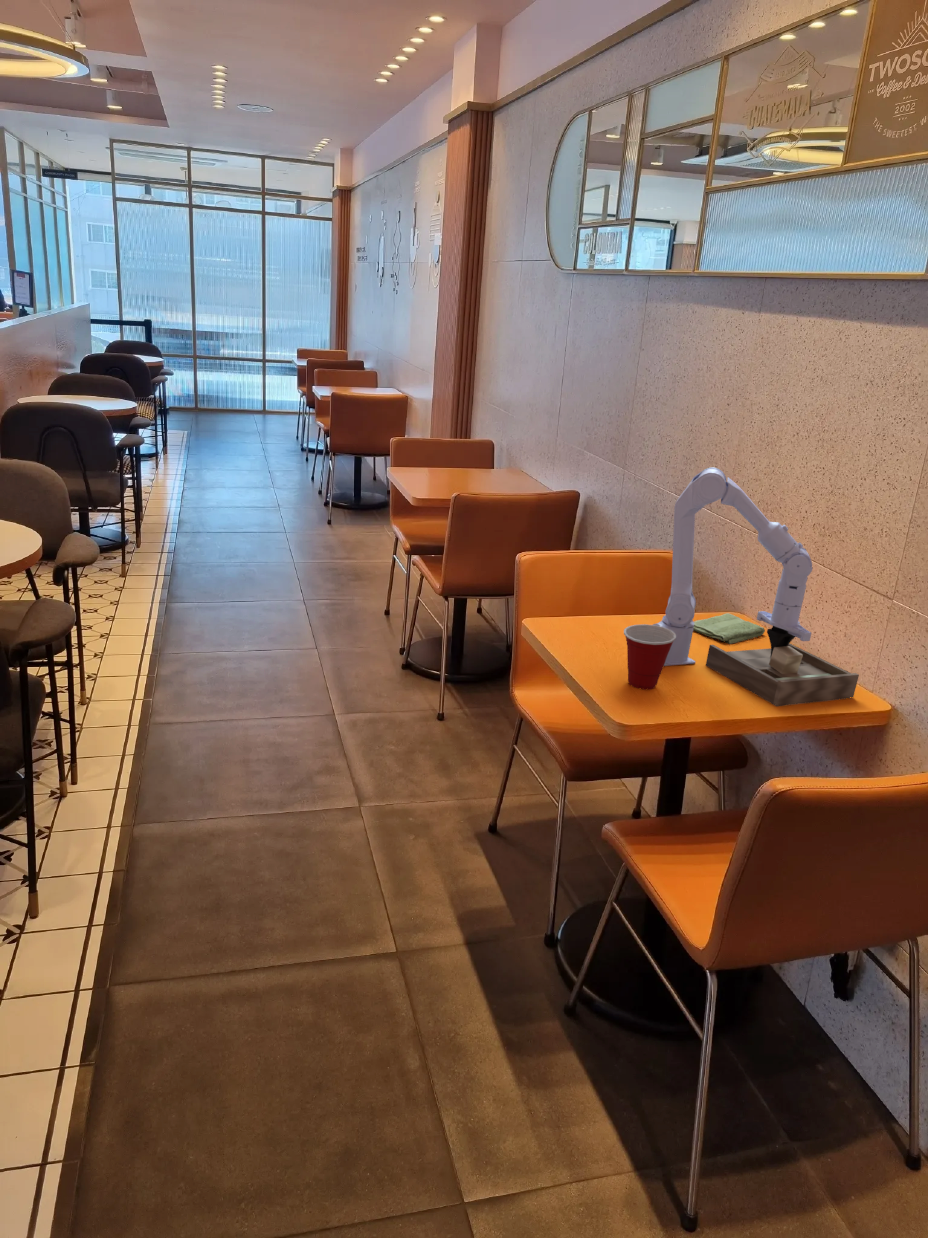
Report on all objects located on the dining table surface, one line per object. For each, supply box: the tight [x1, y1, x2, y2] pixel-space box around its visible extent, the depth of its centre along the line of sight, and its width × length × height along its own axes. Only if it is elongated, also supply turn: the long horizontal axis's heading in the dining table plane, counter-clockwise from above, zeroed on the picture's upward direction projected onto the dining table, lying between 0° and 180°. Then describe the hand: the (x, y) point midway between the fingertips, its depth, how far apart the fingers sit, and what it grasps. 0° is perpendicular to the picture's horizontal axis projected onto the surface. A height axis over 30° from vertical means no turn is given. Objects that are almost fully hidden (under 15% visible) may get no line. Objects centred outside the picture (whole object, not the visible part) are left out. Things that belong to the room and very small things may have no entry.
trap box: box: [705, 642, 860, 707], centre depth 200 cm, size 22×23×6 cm
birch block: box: [769, 646, 803, 674], centre depth 199 cm, size 4×4×4 cm
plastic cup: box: [623, 623, 676, 691], centre depth 189 cm, size 11×11×12 cm
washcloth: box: [693, 612, 766, 645], centre depth 231 cm, size 13×18×3 cm
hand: (775, 660), depth 202 cm, fingers closed, pressing on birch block
